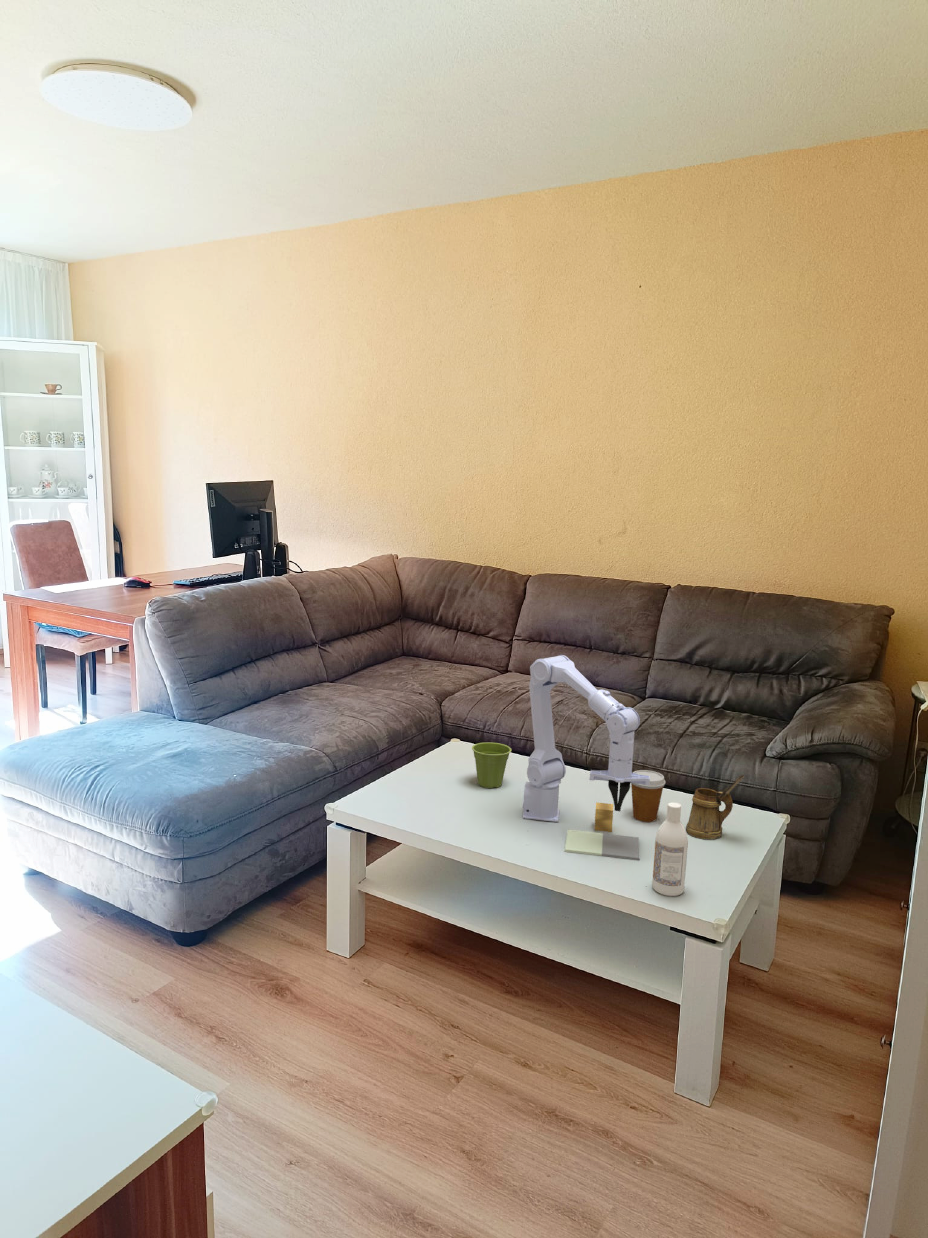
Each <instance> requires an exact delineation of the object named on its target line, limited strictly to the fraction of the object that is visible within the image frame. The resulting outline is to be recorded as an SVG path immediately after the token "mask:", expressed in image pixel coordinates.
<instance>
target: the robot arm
mask: <svg viewBox="0 0 928 1238" xmlns="http://www.w3.org/2000/svg"><path fill="white" fill-rule="evenodd" d="M575 666H576V665H575V662H574V661H572V660H571V659H570V658H569V657H568V656H566V655H563V654H560V655H557V656H550V657H545V658H538V659H536V660H535V661H534V662H533V663H532V664H531V665H530V666H529V673H530V679H529V686H528V688H529V689H528V690H529V699H530V710H531V720H532V721H531V723H532V733H533V741H534V742H533V744H534V750H533V752H532V753H531V754H530V756H529V757H528V766H527V769H526V776H527V779H528V781H526V782H525V783H524V790H523V803H522V818H523V819H527V820H537V821H543V822H544V821H546V822H554V823H555V822H556V823H557V822H559V818H560V812H561V810H560V808H559V794H560V793H559V792H560V784H561V783H562V780H563V779H564V778H565V776H566V774H567V773H566V772H567V768H566V766H565V763H564V760H563V755H562V753H561V752H560V751H559V750H558V749H557V748H556V743H555V742H556V741H555V731H554V729H555V728H554V721H553V720H554V719H553V709H552V708H553V707H552V697H551V696H552V695H551V691H552V689H553V688H554V687H555V686H556V685H557V684H558V683H562V684H563V683H564V684H567V685H568V686H569V687H571V688H572V689H573V690H575V692H577V693H579V694H580V696H583V697H584V698H585V699H587V703H588V704H587V705H588V707H589V708H590V709H591V710H592V711H593V712H594V713H595V714H597V715H598V717H600V718H601V719H602V720H603V721H604V722H605V725H606V727H607V730H608V732H609V735H608V737H609V739H610V740H609V752H608V753H609V755H608V767H607V768H608V769H607V770H592V769H591V770H589V771H590V772H589V781H595V780H596V781H604V782H605V781H606V782H608V785H607V786H608V790H609V791H610V794H611V797H612V800H613V807H614V811H615V812H621V809H622V807H623V806H622V805H623V803H624V800H625V798H626V796H627V794H628V792H629V791H630V789H631V783H634V784H644V785H645V786H649V784H650V776H646V775H641V774H636V773H633V760H634V759H633V757H634V746H635V744H634V743H635V731H636V730H638V728H639V726H640V723H641V720H640V715H639V714H638V712H637V711H636V710H635V709H634V708H633V707H630V706H629V707H626V706H625V705H624V704H623V703H620V702H619V701H618V700H616V699H615V698H614V697H613V696H612V695H611V692H610V691H609V690H605V689H597V688H596V687H595V686H594V685H593V684H592V683H591V682H590V681H589V680H588V679H587V678H586V677H585V676H584V675H583V674H582V673H581V672H580V671H579V670H578V669H577V668H576V667H575Z"/></svg>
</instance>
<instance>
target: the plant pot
mask: <svg viewBox="0 0 928 1238" xmlns="http://www.w3.org/2000/svg"><path fill="white" fill-rule="evenodd" d="M471 750H472V752H473V757H474V759H475V760H474V761H475V768H476V778H477V785H479V786H480V787H481V788H488V789H492V788H500V787H501V786H502V784H503V782H504V781H503V780H504V776H505V772H506V767H507V762H508V760H509V756H510V753H511V752H512V748H511V747H510V746H509V745H507V744H503V743H498V742H492V741H491V742H490V741H489V742H479V743H475V744H473V745H472V746H471Z"/></svg>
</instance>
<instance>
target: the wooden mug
mask: <svg viewBox="0 0 928 1238" xmlns="http://www.w3.org/2000/svg"><path fill="white" fill-rule="evenodd" d="M744 778H745V776H744V774H742V775H739V777H738V778H736V780H735V781H734V782H732V784H731V785H730V786H729V787H727V788H725V790H723V791H717V790H714V789H711V788H706V787H700V788H696V789H695V791H694V794H693V796H692V797H691V798H692V799H691V801H692V804H691V808H690V809H691V810H690V813H689V818H688V822H686V823H687V824H686V826H685V831H686V834H687V835H689V836H691V837H694V838H696V839H697V838H698V839H702V840H710V841H711V840H716V839H719V838H720V837H722V835H723V827H722V825H723V822H724V820H726V818H728V816H729V815H730V814H731V812H732V810H733V807H734V804H733V798H732V796H731V794H730V793H731V791H732V790H733V789H734V788H735V787H736V786H737V785H738V784H739V783H740V782H741V781H742V780H743V779H744ZM722 803H723V804H724V805H725V807H724V810H720V806H722Z"/></svg>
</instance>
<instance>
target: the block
mask: <svg viewBox="0 0 928 1238" xmlns="http://www.w3.org/2000/svg"><path fill="white" fill-rule="evenodd" d="M594 814H595V817H594V829H593V830H594V831H595V830H596V831H598V832H603V833H605V832H606V833H612V832H613V821H614V819H613V818H614V803H606V802H595V813H594Z"/></svg>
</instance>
